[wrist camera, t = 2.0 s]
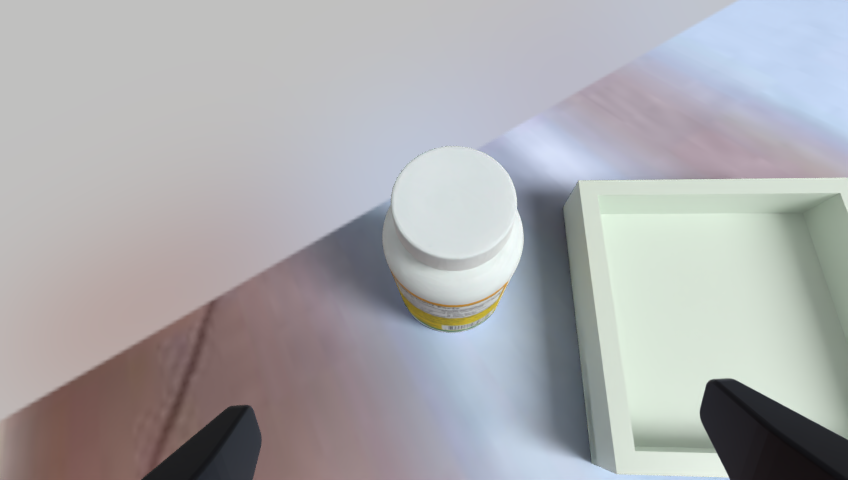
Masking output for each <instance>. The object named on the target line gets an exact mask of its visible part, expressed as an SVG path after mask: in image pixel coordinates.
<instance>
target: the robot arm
mask: <svg viewBox="0 0 848 480" xmlns="http://www.w3.org/2000/svg"><path fill="white" fill-rule="evenodd" d="M700 419H701V422H702V424H703V427H704V429H705V431H706V433H707V435H708V437H709V439H710V441H711V443H712V445H713V447H714V449H715V451H716V452H717V454H718V456H719V458H720V460H721V462H722V464H723V466H724V468H725V470H726V472H727V474H728V476H729V478H730V480H848V439H846V438H844V437H842V436H840V435H838V434H836V433H834V432H833V431H831V430H829V429H827V428H825V427H823V426H821V425H820V424H818V423H816V422H814V421H812V420H810V419H808V418H806V417H805V416H803V415H801V414H799V413H797V412H795V411H793V410H791V409H790V408H788V407H786V406H784V405H782V404H780V403H778V402H776V401H775V400H773V399H771V398H769V397H767V396H765V395H763V394H761V393H760V392H758V391H756V390H754V389H752V388H750V387H748V386H746V385H745V384H743V383H741V382H739V381H737V380H735V379H731V378H722V379H711V380H709V381H708V382H707V384H706V387H705V391H704V395H703V399H702V403H701V407H700ZM260 448H261V432H260V429H259V426H258V423H257V420H256V416H255V413H254V410H253V408H252V407H251V406H249V405H237V406H230V407H228V408H227V409H225V410H224V411H223V412H222V413H220V414H219V415H218V416H217V417H216V418H214V419H213V420H212V421H211V422H210V423H209V424H207V425H206V426H205V427H204V428H203V429H201V430H200V431H199V432H198V433H197V434H195V435H194V436H193V437H192V438H191V439H189V440H188V441H187V442H186V443H185V444H183V445H182V446H181V447H180V448H179V449H177V450H176V451H175V452H174V453H173V454H171V455H170V456H169V457H168V458H167V459H165V460H164V461H163V462H162V463H161V464H159V465H158V466H157V467H156V468H155V469H153V470H152V471H151V472H150V473H149V474H147V475H146V476H145V477H144V478H143V479H141V480H253V476H254V472H255V468H256V464H257V460H258V456H259V452H260Z"/></svg>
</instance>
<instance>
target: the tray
mask: <svg viewBox="0 0 848 480" xmlns="http://www.w3.org/2000/svg"><path fill="white" fill-rule="evenodd" d="M563 212H564V221H565V230H566V239H567V248H568V257H569V265H570V274H571V283H572V292H573V301H574V310H575V319H576V328H577V337H578V346H579V354H580V363H581V372H582V381H583V390H584V399H585V408H586V417H587V426H588V434H589V443H590V452H591V461H592V464H594V465H597V466H599V467H601V468H604V469H606V470H608V471H611V472H613V473H615V474H628V475H662V476H696V477H729V476H728V474H727V472H726V470H725V468H724V466H723V464H722V462H721V460H720V458H719V456H718V454H717V452H716V451H715V449H714V447H713V445H712V443H711V441H710V439H709V437H708V435H707V433H706V431H705V429H704V427H703V424H702V422H701V419H700V407H701V403H702V399H703V395H704V391H705V387H706V384H707V382H708V381H709V380H711V379H722V378H731V379H735V380H737V381H739V382H741V383H743V384H745V385H746V386H748V387H750V388H752V389H754V390H756V391H758V392H760V393H761V394H763V395H765V396H767V397H769V398H771V399H773V400H775V401H776V402H778V403H780V404H782V405H784V406H786V407H788V408H790V409H791V410H793V411H795V412H797V413H799V414H801V415H803V416H805V417H806V418H808V419H810V420H812V421H814V422H816V423H818V424H820V425H821V426H823V427H825V428H827V429H829V430H831V431H833V432H834V433H836V434H838V435H840V436H842V437H844V438H846V439H848V178H775V179H681V180H587V181H578V183H577V184H576V186H575V188H574V189H573V191H572V193H571V194H570V196H569V198H568V200H567V201H566V203H565V205H564V206H563Z"/></svg>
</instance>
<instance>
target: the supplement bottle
mask: <svg viewBox="0 0 848 480" xmlns="http://www.w3.org/2000/svg"><path fill="white" fill-rule="evenodd" d="M382 241H383V249H384V254H385V257H386V261H387V263H388V266H389V268H390V270H391V273H392V275H393V277H394V280H395V282H396V284H397V287H398V289H399V292H400V294H401V296H402V299H403V301H404V303H405V305H406V307H407V309H408V310H409V312H410V313H411V314H412V315H413V317H414V318H415V319H417V320H418V321H419V322H420V323H422V324H423V325H425V326H427V327H429V328H431V329H433V330H436V331H440V332H446V333H458V332H463V331H467V330H470V329H473V328H475V327H477V326H479V325H480V324H482V323H483V322H484V321H486V320H487V319H488V318H489V317H490V316H491V315H492V314H493V312H494V311H495V309H496V308H497V306H498V304H499V302H500V300H501V298H502V296H503V294H504V291H505V289H506V287H507V285H508V283H509V281H510V279H511V277H512V276H513V274H514V272H515V270H516V268H517V265H518V263H519V261H520V258H521V254H522V250H523V242H524V236H523V226H522V221H521V218H520V215H519V213H518V210H517V197H516V191H515V188H514V185H513V182H512V180H511V178H510V176H509V175H508V173H507V172H506V171H505V169H504V168H503V167H502V166H501V165H500V164H499V163H498V162H497V161H496V160H494V159H493V158H492V157H490V156H488V155H487V154H485V153H483V152H480V151H478V150H475V149H471V148H467V147H459V146H445V147H440V148H435V149H432V150H429V151H427V152H425V153H423V154H421V155H419V156H417V157H416V158H414V159H413V160H412V161H411V162H409V163H408V164H407V165H406V166H405V168H404V169H403V170H402V171H401V173H400V174H399V176H398V177H397V179H396V181H395V184H394V186H393V190H392V195H391V206H390V208H389V210H388V212H387V214H386V217H385V221H384V225H383V233H382Z"/></svg>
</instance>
